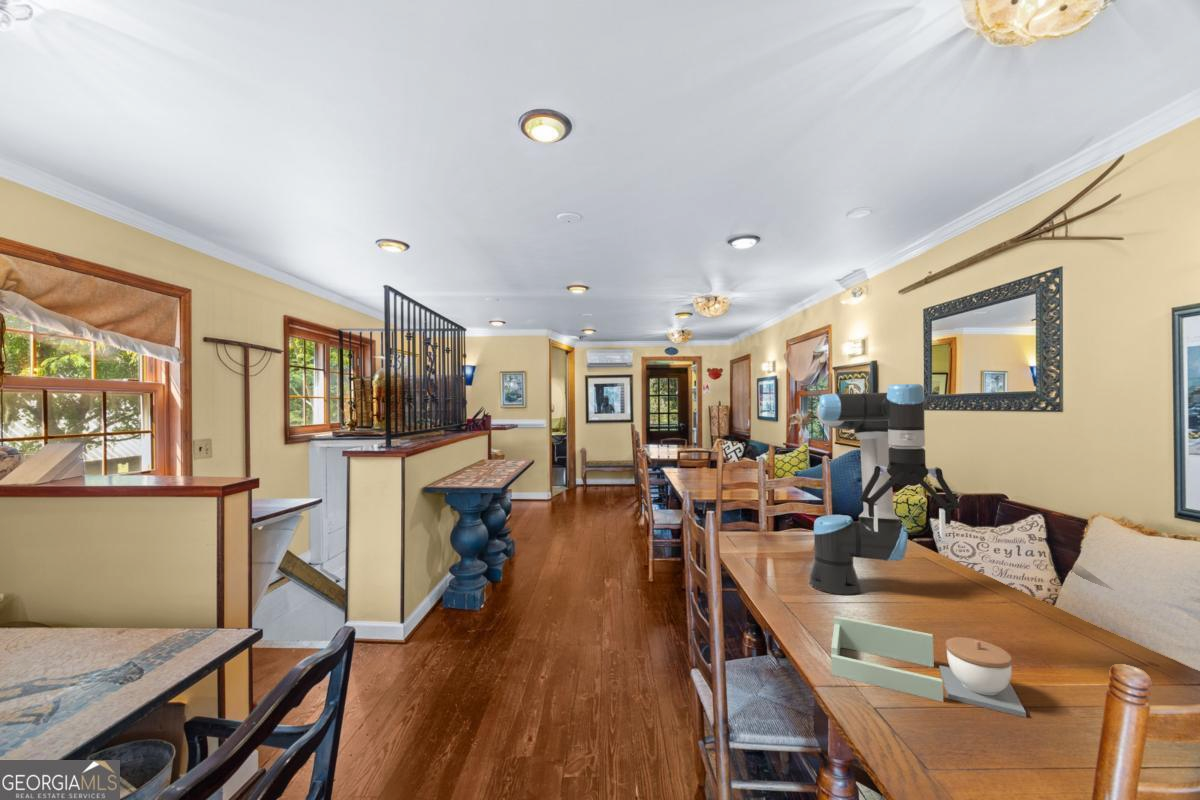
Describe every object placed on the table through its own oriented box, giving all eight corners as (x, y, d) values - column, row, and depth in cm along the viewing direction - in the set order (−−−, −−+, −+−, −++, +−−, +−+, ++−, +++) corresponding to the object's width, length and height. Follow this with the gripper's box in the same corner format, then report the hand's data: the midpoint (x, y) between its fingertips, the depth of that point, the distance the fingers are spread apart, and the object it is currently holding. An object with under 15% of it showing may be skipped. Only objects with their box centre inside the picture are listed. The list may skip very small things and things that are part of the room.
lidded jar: (1027, 705, 90) (1025, 657, 90) (964, 699, 92) (963, 652, 92) (992, 675, 100) (990, 631, 100) (936, 670, 102) (935, 627, 102)
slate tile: (939, 669, 104) (939, 665, 104) (1008, 684, 98) (1008, 680, 98) (948, 698, 94) (947, 693, 94) (1026, 717, 88) (1025, 712, 88)
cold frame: (835, 643, 116) (834, 615, 116) (933, 664, 106) (932, 634, 106) (831, 674, 103) (830, 642, 103) (943, 702, 93) (942, 666, 93)
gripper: (848, 447, 115) (850, 531, 115) (974, 450, 103) (976, 544, 103) (848, 444, 122) (850, 524, 122) (967, 446, 110) (969, 535, 110)
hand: (908, 533), depth 112 cm, fingers open, 13 cm apart
